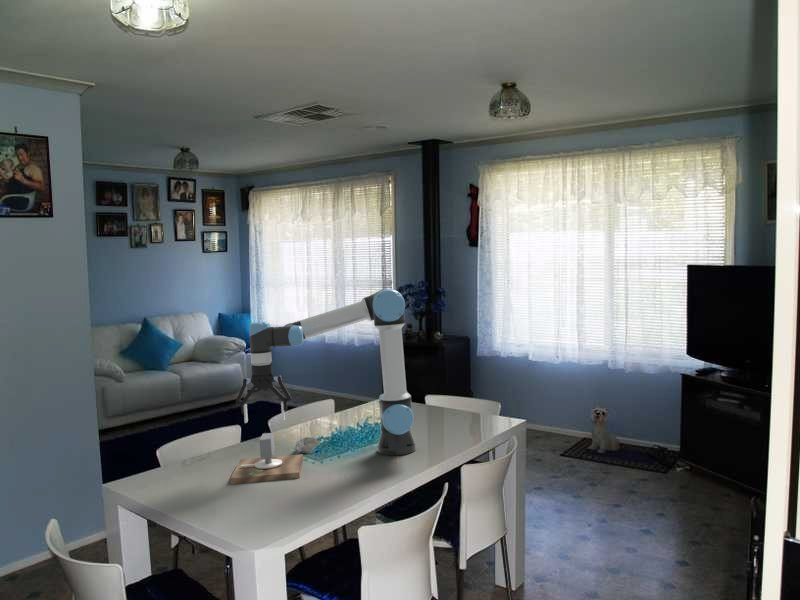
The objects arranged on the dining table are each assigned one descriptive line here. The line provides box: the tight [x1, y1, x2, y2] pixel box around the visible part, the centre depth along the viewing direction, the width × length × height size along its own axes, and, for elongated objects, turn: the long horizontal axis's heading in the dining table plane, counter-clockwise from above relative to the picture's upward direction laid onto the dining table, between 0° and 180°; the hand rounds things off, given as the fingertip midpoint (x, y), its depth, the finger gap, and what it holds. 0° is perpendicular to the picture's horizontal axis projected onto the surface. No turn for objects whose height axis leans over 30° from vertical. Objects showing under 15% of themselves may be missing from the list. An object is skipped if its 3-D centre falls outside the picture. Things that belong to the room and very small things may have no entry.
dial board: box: [229, 453, 304, 485], centre depth 235 cm, size 24×24×2 cm
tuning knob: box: [241, 432, 282, 469], centre depth 235 cm, size 15×10×11 cm, turn 96°
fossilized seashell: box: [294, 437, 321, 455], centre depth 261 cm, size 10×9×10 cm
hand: (264, 421), depth 235 cm, fingers open, 13 cm apart
